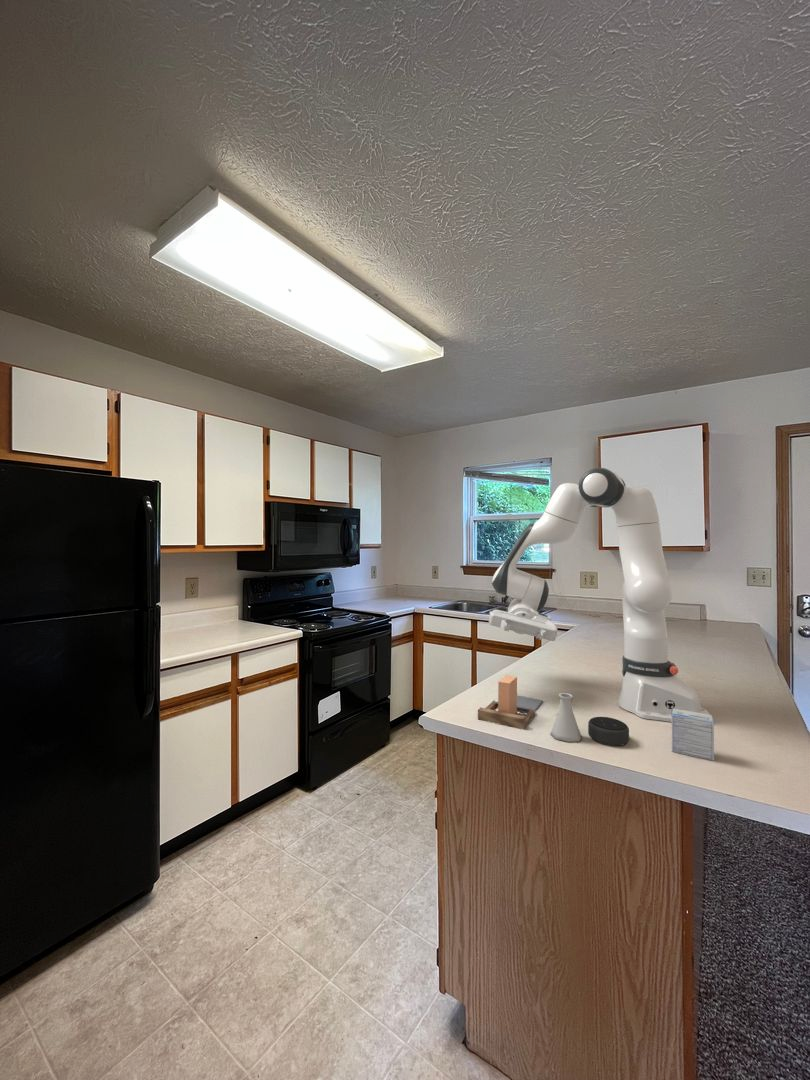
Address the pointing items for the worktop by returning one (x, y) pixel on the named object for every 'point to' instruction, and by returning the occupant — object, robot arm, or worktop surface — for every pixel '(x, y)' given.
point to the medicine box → (693, 734)
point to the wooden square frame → (506, 716)
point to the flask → (566, 721)
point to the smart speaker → (608, 731)
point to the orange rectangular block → (507, 694)
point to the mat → (528, 702)
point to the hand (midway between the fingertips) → (523, 632)
